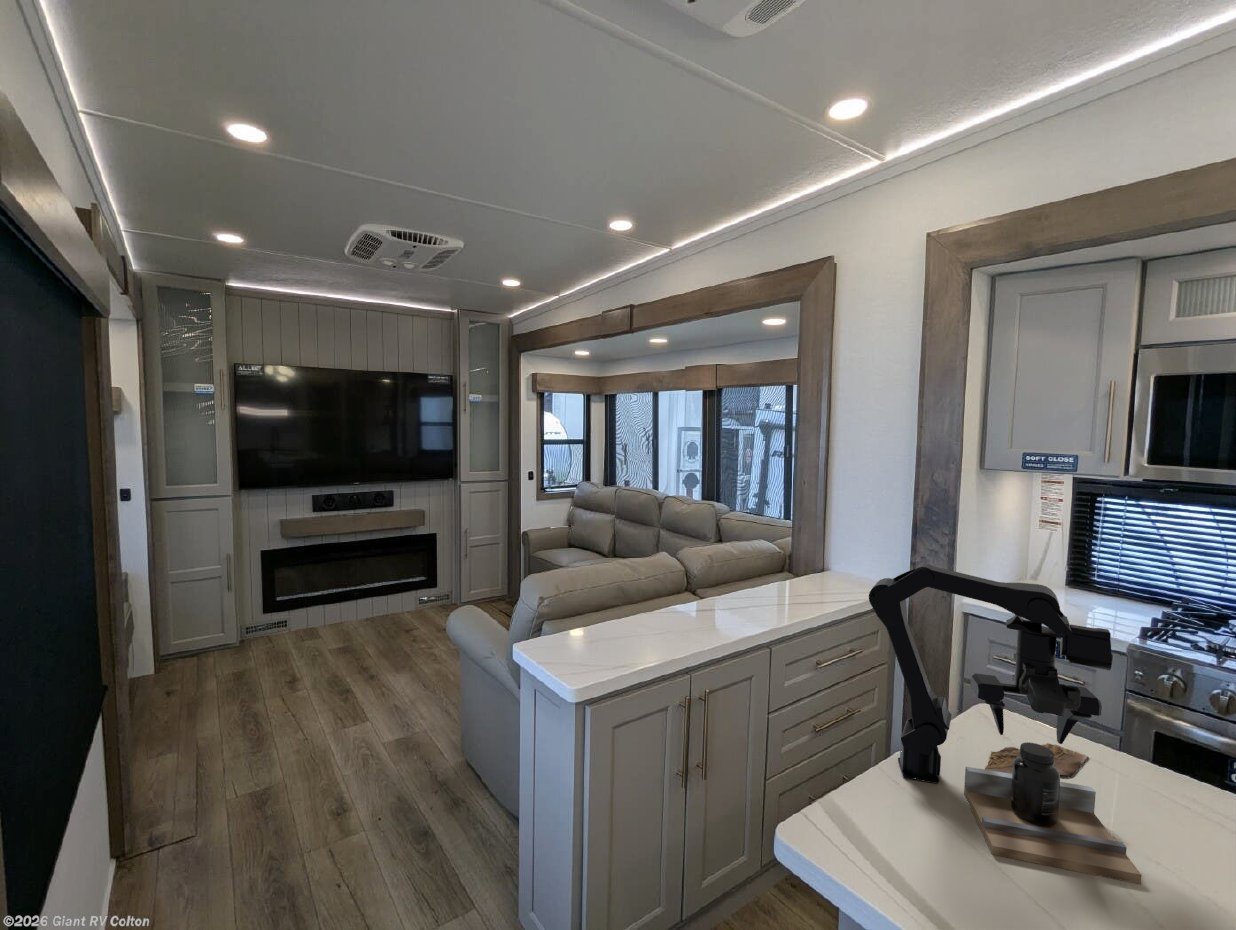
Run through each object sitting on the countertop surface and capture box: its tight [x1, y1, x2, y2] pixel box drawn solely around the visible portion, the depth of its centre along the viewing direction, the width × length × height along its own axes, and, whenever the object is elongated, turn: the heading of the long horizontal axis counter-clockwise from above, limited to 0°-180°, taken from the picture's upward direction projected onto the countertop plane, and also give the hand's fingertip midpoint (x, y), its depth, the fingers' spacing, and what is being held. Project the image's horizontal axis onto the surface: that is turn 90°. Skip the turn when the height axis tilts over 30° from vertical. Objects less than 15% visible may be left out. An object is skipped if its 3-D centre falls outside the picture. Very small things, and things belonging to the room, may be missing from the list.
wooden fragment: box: [984, 742, 1089, 777], centre depth 119 cm, size 26×11×1 cm, turn 100°
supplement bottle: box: [1011, 742, 1061, 826], centre depth 101 cm, size 7×7×12 cm
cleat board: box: [963, 766, 1142, 885], centre depth 98 cm, size 20×16×6 cm
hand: (1029, 738), depth 105 cm, fingers open, 9 cm apart
